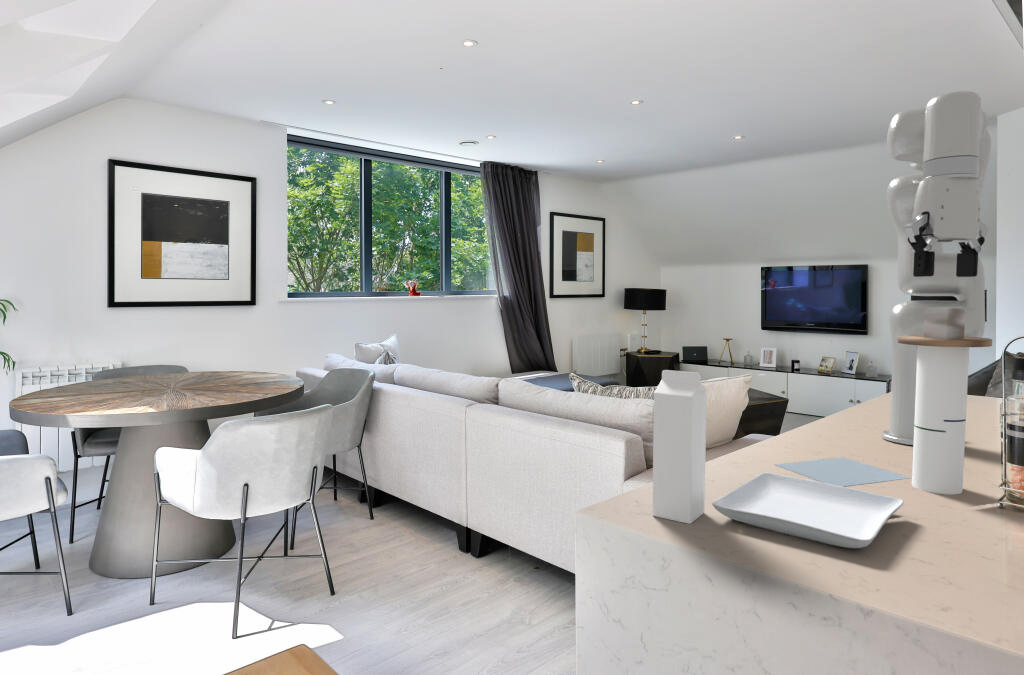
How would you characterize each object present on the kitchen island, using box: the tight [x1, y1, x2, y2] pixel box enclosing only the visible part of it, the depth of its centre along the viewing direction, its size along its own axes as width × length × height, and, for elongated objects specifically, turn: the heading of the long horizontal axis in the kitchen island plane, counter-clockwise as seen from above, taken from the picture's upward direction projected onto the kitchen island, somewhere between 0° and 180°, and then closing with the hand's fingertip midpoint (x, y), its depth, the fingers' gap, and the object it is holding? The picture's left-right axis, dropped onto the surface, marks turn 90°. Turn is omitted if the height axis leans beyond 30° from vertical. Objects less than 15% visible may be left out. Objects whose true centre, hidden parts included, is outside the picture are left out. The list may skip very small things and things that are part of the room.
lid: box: [898, 308, 993, 348], centre depth 105 cm, size 13×13×6 cm
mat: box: [774, 456, 912, 487], centre depth 117 cm, size 17×15×1 cm
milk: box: [652, 369, 708, 525], centre depth 95 cm, size 6×6×22 cm
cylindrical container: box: [911, 345, 970, 495], centre depth 106 cm, size 7×7×25 cm
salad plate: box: [711, 471, 904, 549], centre depth 94 cm, size 21×21×3 cm
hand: (945, 276), depth 105 cm, fingers open, 9 cm apart
